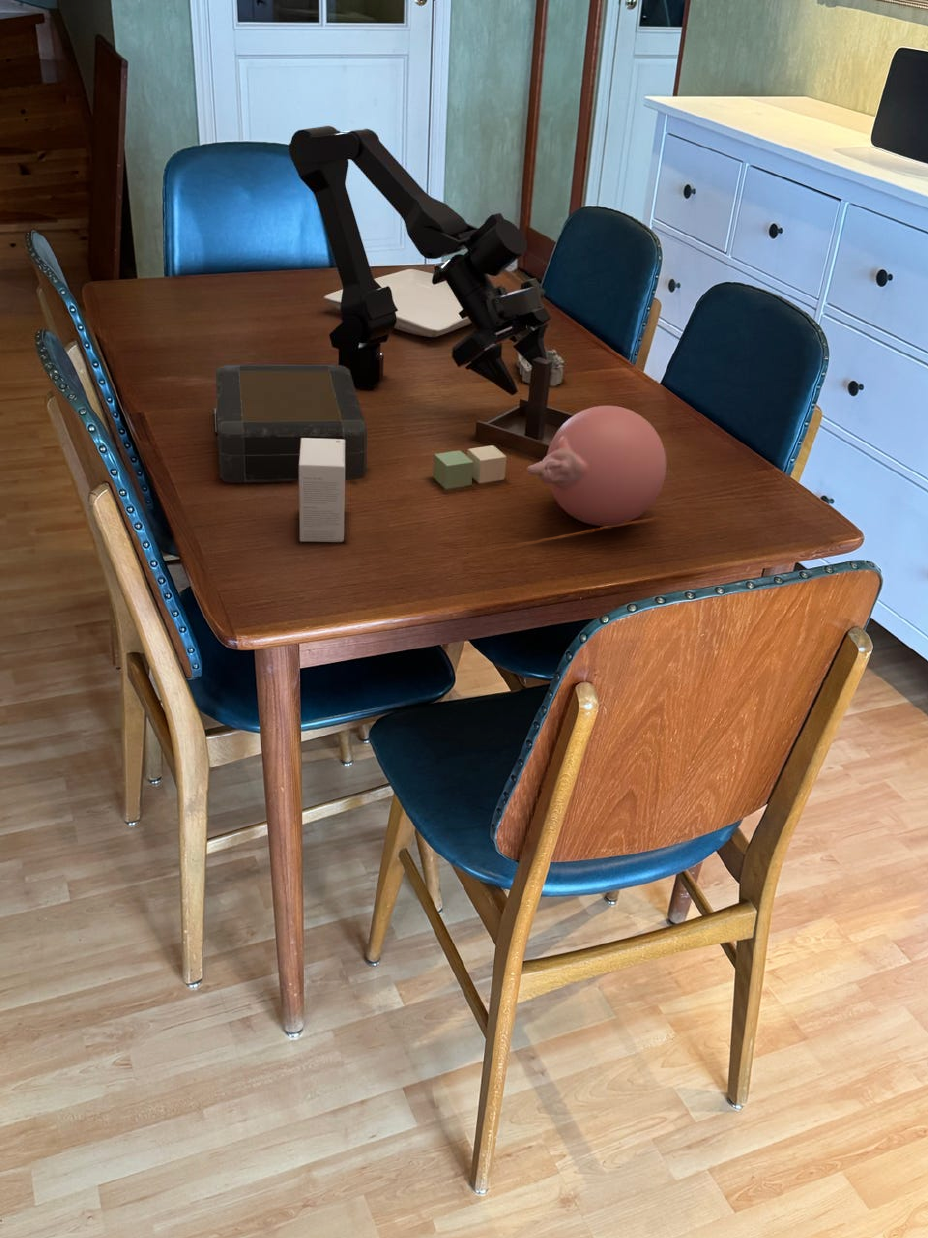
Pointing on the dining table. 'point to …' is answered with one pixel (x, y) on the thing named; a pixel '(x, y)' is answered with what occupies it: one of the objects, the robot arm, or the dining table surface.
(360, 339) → the robot arm
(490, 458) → the cream block
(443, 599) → the dining table surface
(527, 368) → the grey castle model
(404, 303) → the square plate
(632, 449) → the balloon
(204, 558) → the dining table surface
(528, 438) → the brown tray with post
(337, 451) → the small box
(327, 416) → the cash box
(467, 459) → the sage block
